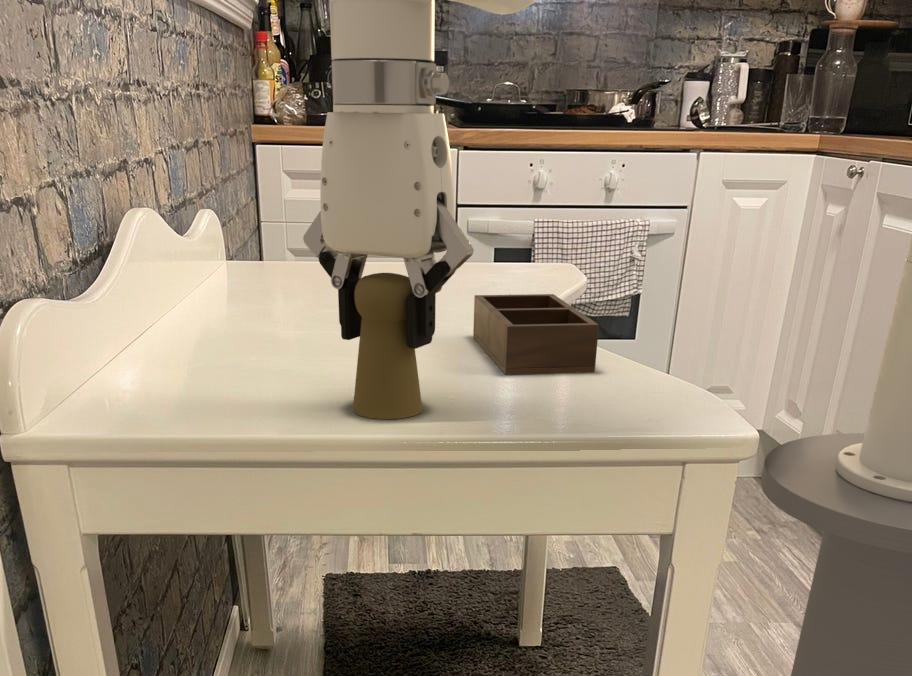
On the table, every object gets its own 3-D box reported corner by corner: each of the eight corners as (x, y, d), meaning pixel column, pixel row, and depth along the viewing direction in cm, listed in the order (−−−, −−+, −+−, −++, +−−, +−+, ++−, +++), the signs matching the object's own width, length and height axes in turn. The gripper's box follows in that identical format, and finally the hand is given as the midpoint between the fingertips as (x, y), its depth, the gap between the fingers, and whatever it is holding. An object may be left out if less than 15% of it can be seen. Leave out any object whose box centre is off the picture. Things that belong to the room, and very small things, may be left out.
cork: (340, 414, 81) (335, 277, 75) (370, 396, 86) (367, 266, 80) (406, 422, 79) (405, 282, 73) (433, 404, 84) (434, 271, 78)
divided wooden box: (594, 372, 94) (599, 324, 92) (505, 374, 93) (507, 326, 91) (550, 335, 109) (553, 293, 107) (473, 337, 108) (474, 295, 106)
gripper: (509, 92, 70) (499, 344, 79) (316, 91, 77) (326, 323, 86) (463, 90, 64) (457, 362, 73) (259, 90, 71) (276, 338, 80)
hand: (386, 338), depth 79 cm, fingers open, 5 cm apart
